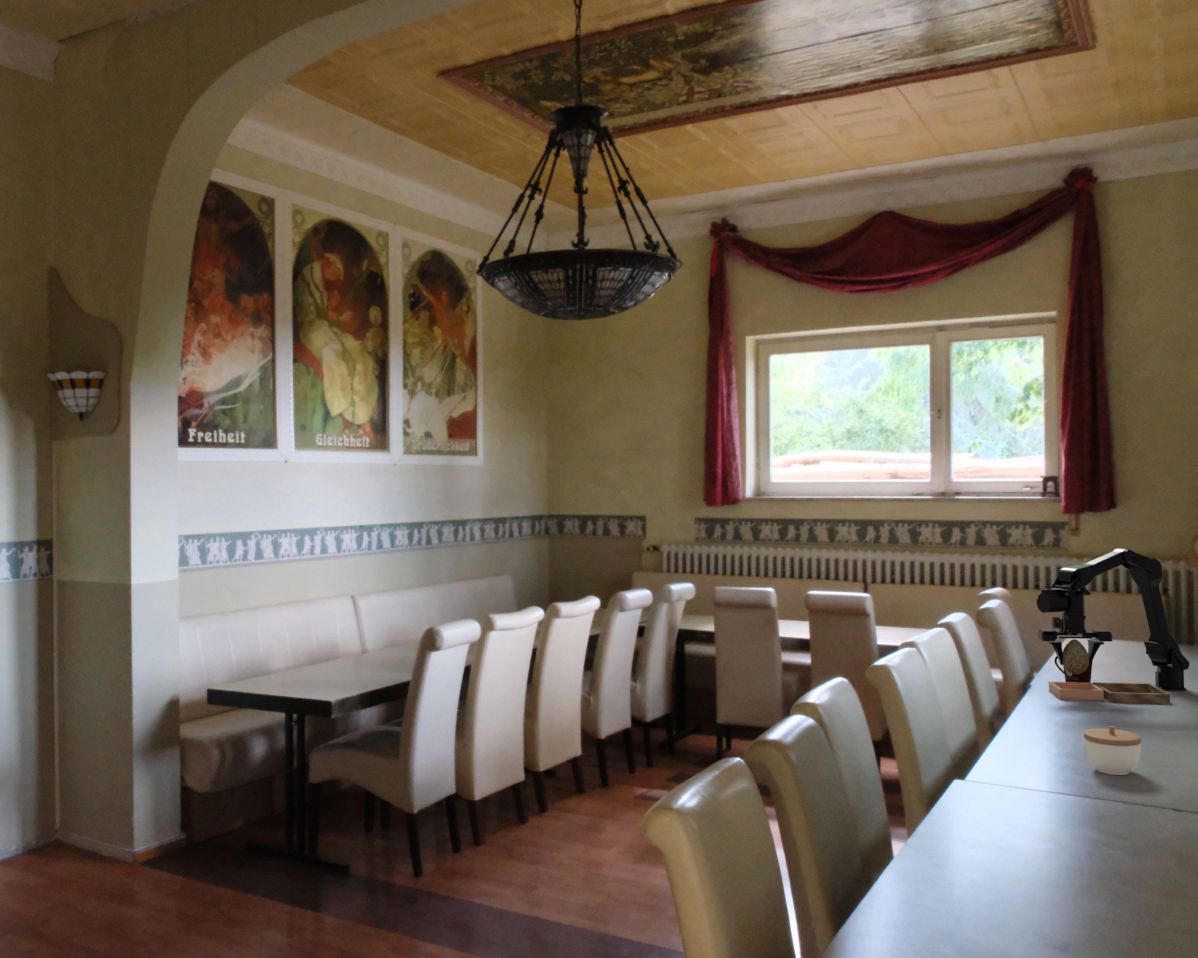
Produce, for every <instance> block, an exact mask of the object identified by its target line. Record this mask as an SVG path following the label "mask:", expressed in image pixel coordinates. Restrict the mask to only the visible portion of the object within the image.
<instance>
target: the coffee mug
mask: <svg viewBox="0 0 1198 958" xmlns="http://www.w3.org/2000/svg"><path fill="white" fill-rule="evenodd" d="M1093 661H1094V660H1093ZM1093 661H1092V663H1091V665H1090V666H1089V665H1088V667H1087V669H1086V670H1085V671H1084V672H1083V673H1081V674H1073V673H1070V672H1069V671H1067V670H1066V669H1065V667H1064V666H1063V665H1062V667H1060V666H1059V665H1060V664H1059V663H1058V657H1057V655H1056V656H1055V658H1054V664H1055V666H1056V668H1057V669H1058V670H1059V671H1060V672H1061V673H1062V674H1064V682H1089V683H1092V682H1091V680H1092V670H1093ZM1062 668H1063V669H1062Z"/></svg>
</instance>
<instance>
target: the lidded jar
mask: <svg viewBox="0 0 1198 958" xmlns="http://www.w3.org/2000/svg"><path fill="white" fill-rule="evenodd" d="M1083 738H1084V749H1085V752H1086V757H1087V759H1088V760H1089V761H1090V763H1091V764H1092V765H1093V766H1094V768H1095V769H1096V770H1097V772H1100V773H1102V774H1106V775H1111V776H1112V775H1113V776H1126V775H1129V774H1130V772H1131V771H1133V769H1135V768H1136V766H1137V765H1138V763H1139V761H1140V758H1141V749H1142V748H1141V747H1142V746H1141V743H1142V737H1141V735H1140V734H1137V733H1135V732H1133V731H1132V732H1131V731H1127V730H1123V729H1117V728H1116V729H1115V726H1112V725H1109V726H1108V728H1090V729H1086V730H1084V732H1083Z"/></svg>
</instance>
